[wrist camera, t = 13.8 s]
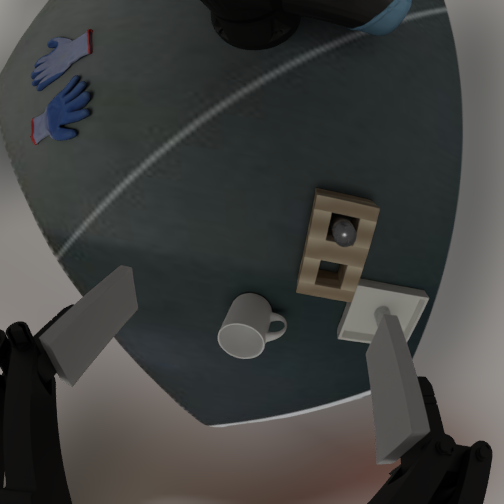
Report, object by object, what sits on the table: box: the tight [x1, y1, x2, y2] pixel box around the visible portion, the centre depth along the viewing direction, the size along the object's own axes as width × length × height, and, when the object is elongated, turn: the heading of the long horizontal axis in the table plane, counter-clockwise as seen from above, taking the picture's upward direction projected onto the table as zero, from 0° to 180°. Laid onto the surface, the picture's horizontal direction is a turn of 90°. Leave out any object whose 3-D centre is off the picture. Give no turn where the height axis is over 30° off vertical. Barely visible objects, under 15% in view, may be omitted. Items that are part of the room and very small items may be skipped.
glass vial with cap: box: [374, 306, 391, 327], centre depth 44 cm, size 3×3×16 cm
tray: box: [337, 278, 429, 343], centre depth 50 cm, size 13×16×3 cm
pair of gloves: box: [30, 29, 93, 145], centre depth 43 cm, size 32×26×4 cm
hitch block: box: [296, 188, 380, 302], centre depth 45 cm, size 17×10×6 cm, turn 173°
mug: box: [218, 293, 287, 359], centre depth 52 cm, size 9×12×11 cm
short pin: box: [330, 213, 357, 247], centre depth 42 cm, size 3×3×9 cm
